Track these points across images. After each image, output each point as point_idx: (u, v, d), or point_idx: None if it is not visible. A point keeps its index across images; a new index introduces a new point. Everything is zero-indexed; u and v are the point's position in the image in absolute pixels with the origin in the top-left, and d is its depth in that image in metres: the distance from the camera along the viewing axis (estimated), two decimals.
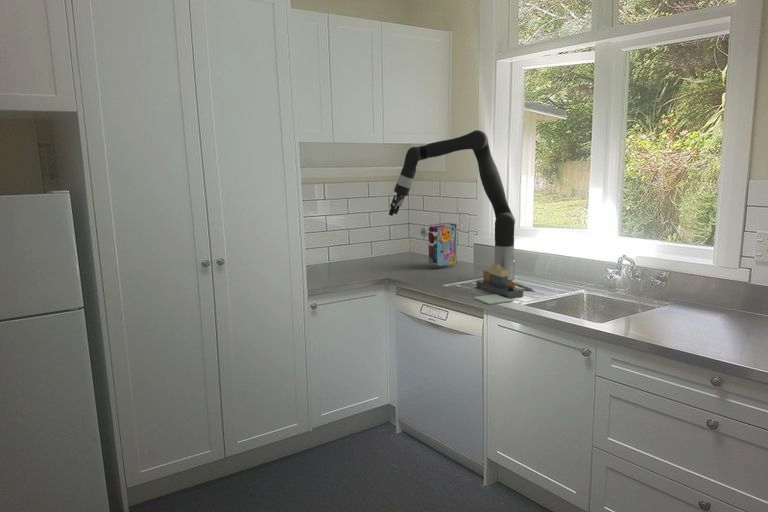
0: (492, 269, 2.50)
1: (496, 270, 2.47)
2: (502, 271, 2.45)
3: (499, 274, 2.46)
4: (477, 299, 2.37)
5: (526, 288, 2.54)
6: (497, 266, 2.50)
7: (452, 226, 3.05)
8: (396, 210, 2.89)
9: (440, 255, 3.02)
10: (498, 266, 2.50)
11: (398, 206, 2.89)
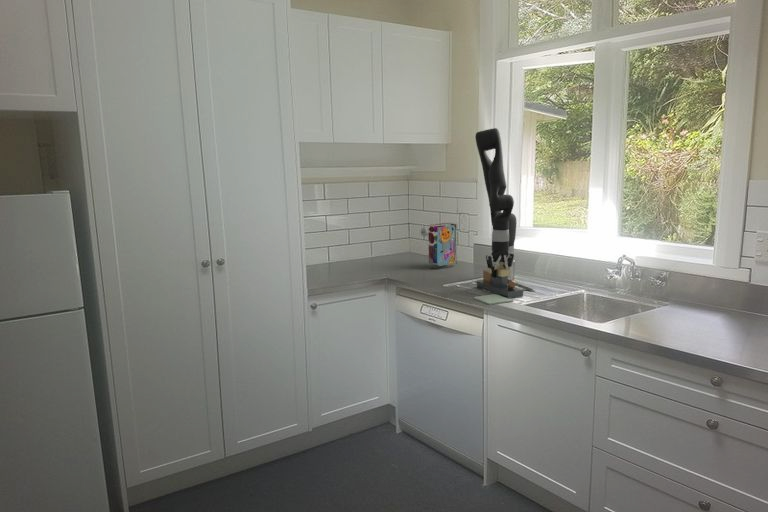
0: None
1: (496, 270, 2.47)
2: (502, 271, 2.45)
3: (499, 274, 2.46)
4: (477, 299, 2.37)
5: (526, 288, 2.54)
6: (497, 266, 2.50)
7: (452, 226, 3.05)
8: None
9: (440, 255, 3.02)
10: (498, 266, 2.50)
11: None
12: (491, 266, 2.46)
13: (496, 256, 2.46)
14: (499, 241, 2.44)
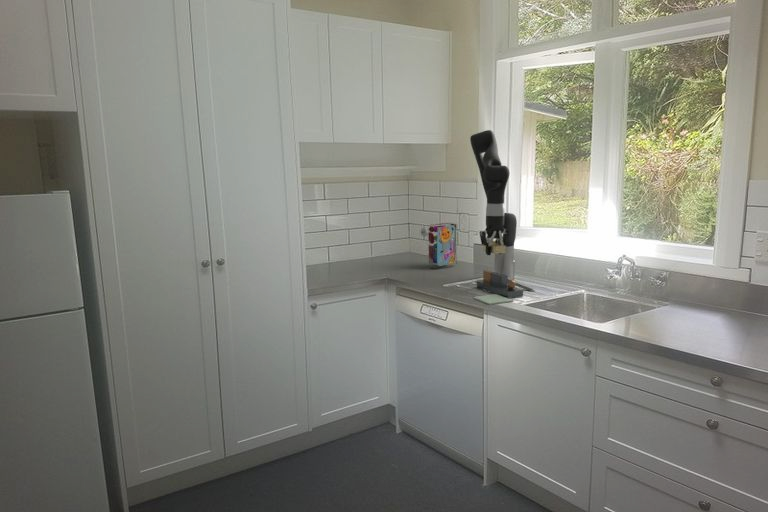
0: None
1: (491, 247, 2.31)
2: (497, 247, 2.28)
3: (494, 251, 2.29)
4: (477, 299, 2.37)
5: (526, 288, 2.54)
6: (492, 243, 2.34)
7: (452, 226, 3.05)
8: None
9: (440, 255, 3.02)
10: (493, 243, 2.34)
11: None
12: (485, 242, 2.30)
13: (490, 232, 2.30)
14: (494, 215, 2.27)
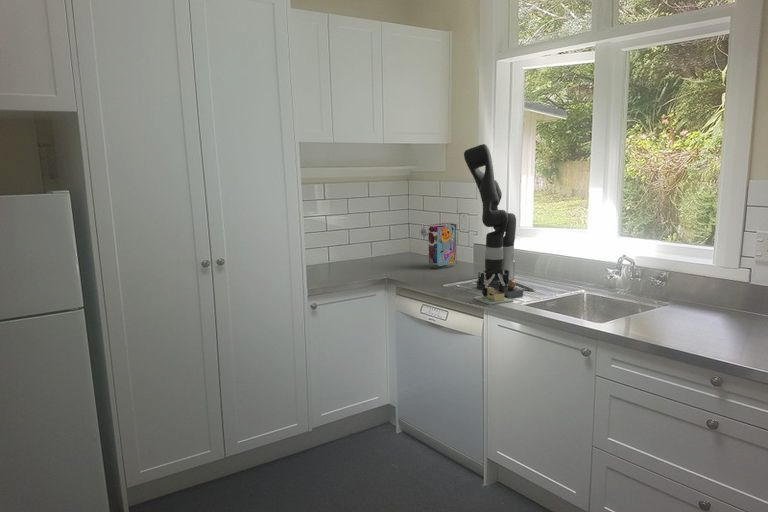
0: None
1: (490, 294, 2.34)
2: (495, 295, 2.32)
3: (492, 298, 2.33)
4: (477, 299, 2.37)
5: (527, 288, 2.54)
6: (490, 290, 2.37)
7: (452, 226, 3.05)
8: None
9: (440, 255, 3.02)
10: (491, 290, 2.37)
11: None
12: (482, 284, 2.32)
13: (490, 274, 2.33)
14: (493, 259, 2.30)
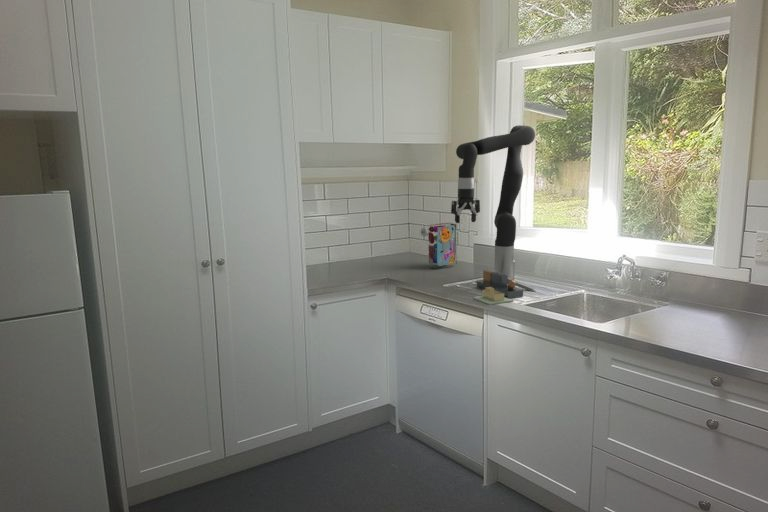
0: (485, 293, 2.37)
1: (490, 294, 2.34)
2: (495, 295, 2.32)
3: (492, 298, 2.33)
4: (477, 299, 2.37)
5: (527, 288, 2.54)
6: (490, 290, 2.37)
7: (452, 226, 3.05)
8: None
9: (440, 255, 3.02)
10: (491, 290, 2.37)
11: None
12: (454, 211, 2.55)
13: (462, 202, 2.56)
14: (464, 188, 2.53)
